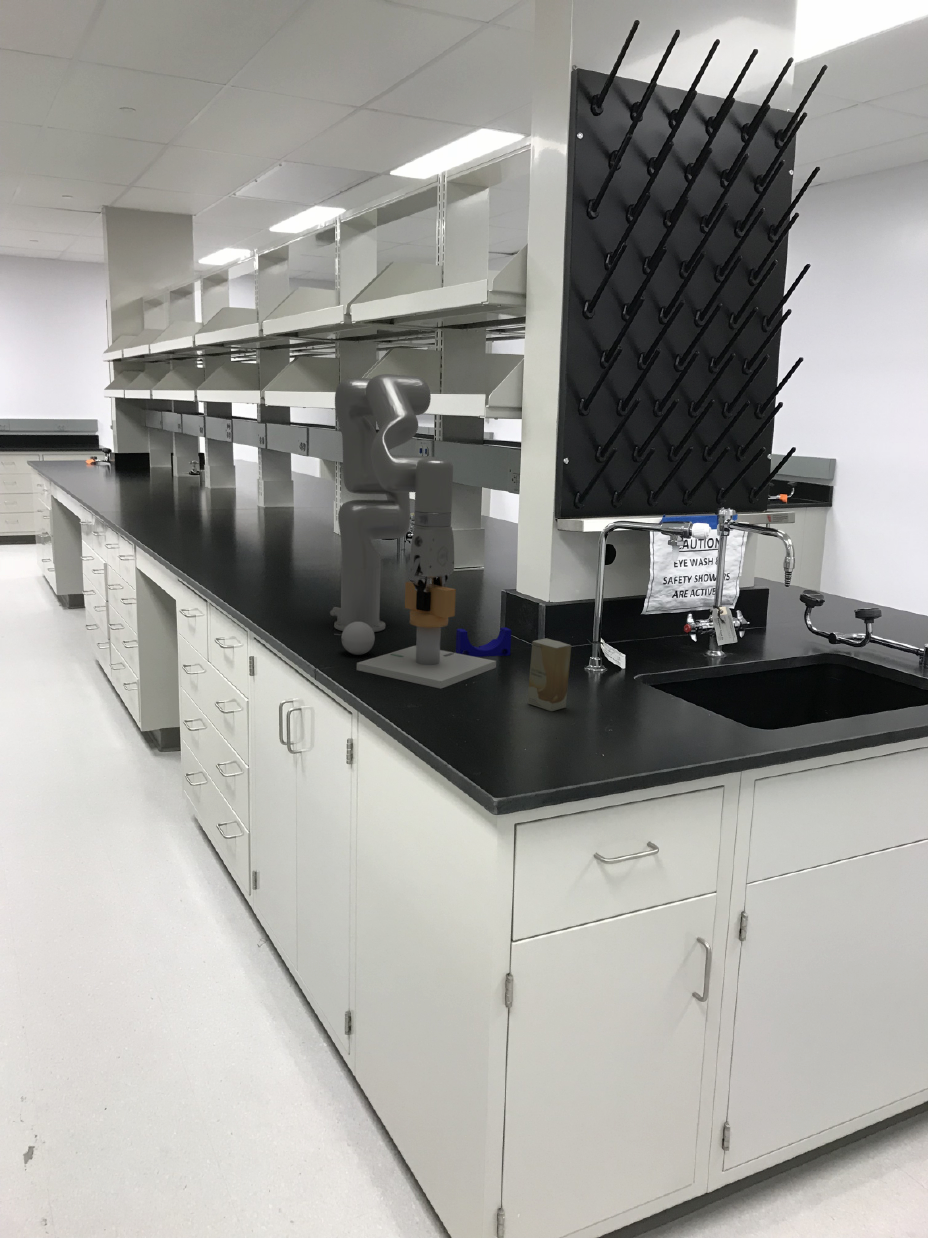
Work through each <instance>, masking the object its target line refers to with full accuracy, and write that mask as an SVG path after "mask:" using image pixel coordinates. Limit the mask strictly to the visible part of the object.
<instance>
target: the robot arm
mask: <svg viewBox="0 0 928 1238" xmlns="http://www.w3.org/2000/svg"><path fill="white" fill-rule="evenodd" d="M334 394H335V395H334V408H335V409H334V410H335V414H336V415H335V416H336V419H337V423H338V425H339V429H340V431H341V439H342V469H343V470H342V473H343V474H342V475H343V483H344V487H345V489H346V490H347V491H348V492H349V493H353V494H358V495H385V496H386V499H354V500H349V501H346V502H345V503H343V504H342V505H341V506H340V508H339V510H338V512H337V520H338V528H339V535H340V546H341V547H340V548H341V574H340V575H341V576H340V577H341V578H340V579H341V582H340V607H338V606H333V608H332V609H331V610H330V611H329V614H330V616H333V617H336V618H337V620H335V621H334V625H333V626H334V628H335V630H338V631H342V632H343V631H344V629H345V627H346V626H348V625H349V624H351V623H353V622H364V623H366V624H368V625H369V626H370V627H371V628H372V630H373V632H374V633H376V632H381V631H383V630H385V629H386V622H384V621H382V620H381V619H380V611H381V610H380V605H381V604H380V601H381V600H380V599H381V563H382V562H381V557H380V553H379V551H378V550H377V548H376V546H374V544H373V542H372V540H393V539H394V540H396V539H401V538H404V537H405V536H406V535H407V534H408V532H409V529H410V522H411V521H410V520H411V516H410V515H411V507H410V506H411V504H410V503H411V502H410V501H411V499H410V496H411V495H410V493H414V516H413V517H414V519H413V525H414V526H413V531H412V536H411V537H412V538H411V543H410V544H411V545H410V553H409V554H410V555H409V557H410V558H409V572H410V573H409V576H408V581H411V582H412V583H413V584H414V586H415V591H417V594H416V609H417V610H421V611H427V612H428V611H430V603H431V592H428V591H429V586H430V584H434V585H439V586H443V587H447V585H446V583H447V580H448V579H449V577H450V575H451V574H453V573H454V571H455V540H454V531H453V527H452V512H453V511H452V510H453V509H452V507H453V504H452V503H453V485H454V484H453V482H454V481H453V480H454V479H453V478H454V466H453V464H452V462H451V461H450V460H449V459H443V458H442V459H440V458H438V457H435V456H428V455H427V456H424V455H397V454H396V455H395V454H392V452H390V450H392V449H394V448H396V447H397V448H398V447H400V446H401V445H403V444H406V443H407V442H409V441H410V440H412V438H414V436H415V435H417V432H418V430H419V421H418V418H417V416H421V415H423V414H425V413H426V412H427V411H428V410H429V407H430V405H431V389H430V386H429V385H428V383H427V382H426V380H424V379H423V378H422V377H420V376H416V375H405V374H389V373H388V374H387V373H386V374H385V373H384V374H379V375H375V376H373V377H372V378H370V377H369V378H367V377H365V378H364V377H353V378H347V379H344V380H342V381H340V382H339V383H338V385H337V387H336V389H335V393H334ZM366 416H370V417H374V420H375V423H376V425H377V427H378V429H379V430H378V431H376V428H375V427H374V426H373V424H372V423H371V421H370V420H369V419H368V418H367V417H366ZM423 580H424V581H423ZM424 582H425V583H424Z"/></svg>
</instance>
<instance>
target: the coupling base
mask: <svg viewBox="0 0 928 1238" xmlns="http://www.w3.org/2000/svg"><path fill="white" fill-rule="evenodd" d="M441 629H442V627H434V628H429V627H418V626H416V639H415V640H416V645H412V646H409V647H405V648H402V649H399V650H395V651H392V652H390V653H386V654H383V655H382V654H381V655H379V656H376V657H372V658H369V659H365V660H363V661H359V662H356V671H359V672H364V673H368V674H371V675H372V674H374V675H376V676H377V675H378V676H382V677H386V678H391V679H396V680H401V681H404V682H410V683H413V684H417V685H418V684H419V685H422V686H426V687H427V686H428V687H431V688H436V689H443V688H447V687H449V686H452V685H455V684H456V683H460V682H462V681H466V680H467V679H471V678H472V677H474V676H475V677H476V676H478V675H480V674H483V673H486V672H488V671H492V670H494V669H497V660H493V659H489V658H488V659H487V658H484V657H483V658H482V657H473V656H468V655H463V654H458V653H456V652H452V651H448V650H443V649H441V634H442V633H441V631H442V630H441Z"/></svg>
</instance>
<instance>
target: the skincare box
mask: <svg viewBox="0 0 928 1238" xmlns="http://www.w3.org/2000/svg"><path fill="white" fill-rule="evenodd" d="M571 652H572V645H571V644H568V643H566V642H562V641H559V640H554V639H550V638H547V637H546V638H542V639H537V640H532V642H531V653H530V654H531V655H530V666H529V675H528V676H529V679H528V690H527V691H528V692H527V704H528V705H531V706H535V707H538V708H540V709H542V710H546V711H549V712H554V711H557V710H561V709H565V708H566V706H567V698H568V697H567V695H568V685H569V675H570V666H571V665H570V662H571Z"/></svg>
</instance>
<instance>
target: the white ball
mask: <svg viewBox="0 0 928 1238" xmlns="http://www.w3.org/2000/svg"><path fill="white" fill-rule="evenodd" d="M335 635H337V636H341V638H340V639H341V644H342V647H343V648H344V649H345V650H346V651H347V652H348V653H350V654H352V655H355V656H361V655H364V654H366V653H368V652H369V651H370V650H372V648H373V647H374V644H375V639H376V638H375V632H373V630H372V628H371V627H370V626H369V625H368V624H366V623H364V622H353V623H351V624H349V625H348V626H346V627H345V629H344V631H342V632H341V634H340V633H339V634H338V633H335Z"/></svg>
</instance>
